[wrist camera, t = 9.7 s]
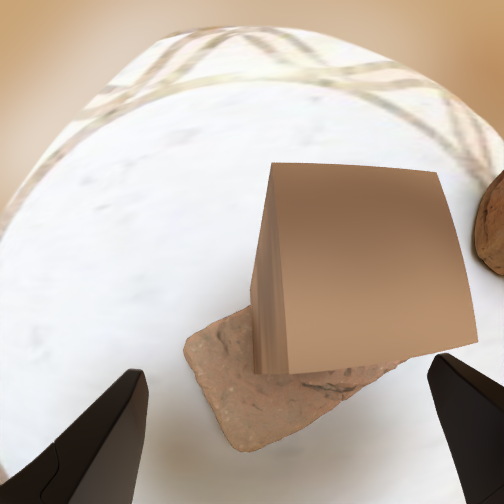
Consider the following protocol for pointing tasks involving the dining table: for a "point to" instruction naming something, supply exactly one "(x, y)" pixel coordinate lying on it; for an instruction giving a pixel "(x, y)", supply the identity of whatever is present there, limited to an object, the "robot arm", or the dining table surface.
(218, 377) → the brick
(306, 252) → the walnut block
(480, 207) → the block
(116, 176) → the dining table surface
